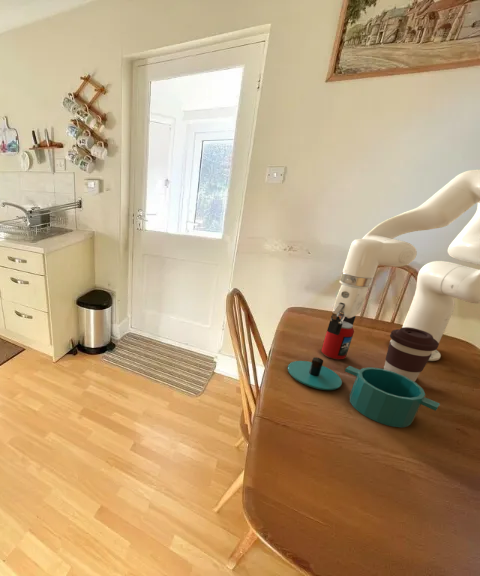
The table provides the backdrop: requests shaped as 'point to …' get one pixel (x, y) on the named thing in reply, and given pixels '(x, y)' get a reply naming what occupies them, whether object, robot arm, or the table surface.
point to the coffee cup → (409, 351)
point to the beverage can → (338, 342)
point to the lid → (314, 374)
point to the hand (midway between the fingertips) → (339, 329)
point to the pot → (387, 396)
